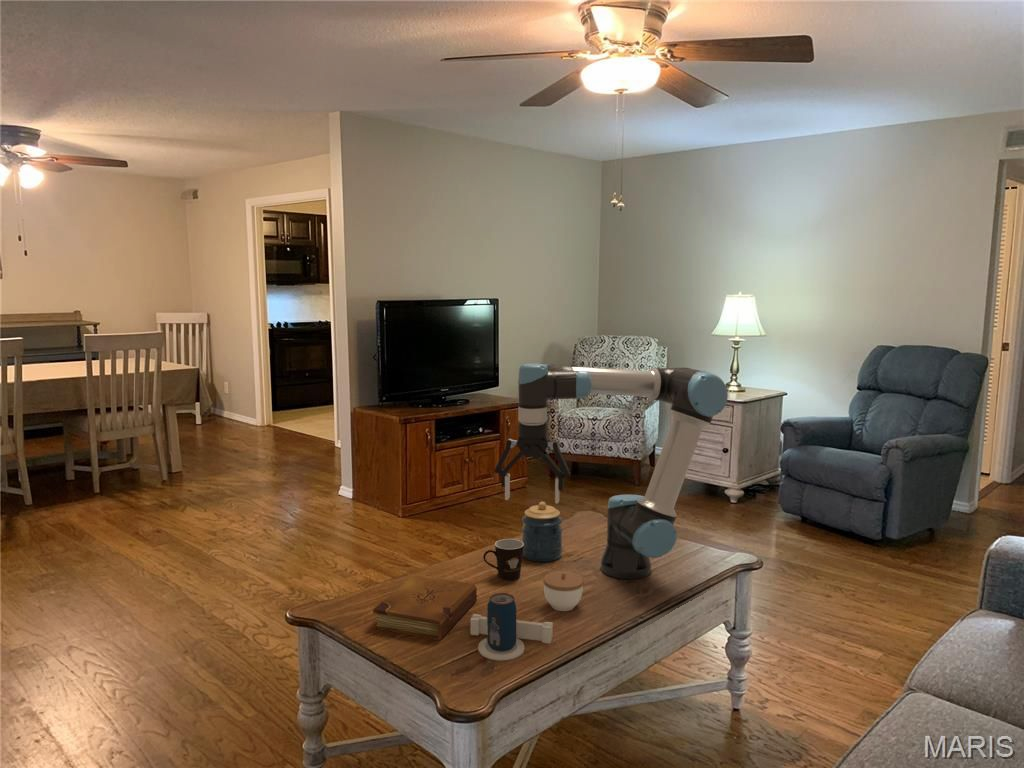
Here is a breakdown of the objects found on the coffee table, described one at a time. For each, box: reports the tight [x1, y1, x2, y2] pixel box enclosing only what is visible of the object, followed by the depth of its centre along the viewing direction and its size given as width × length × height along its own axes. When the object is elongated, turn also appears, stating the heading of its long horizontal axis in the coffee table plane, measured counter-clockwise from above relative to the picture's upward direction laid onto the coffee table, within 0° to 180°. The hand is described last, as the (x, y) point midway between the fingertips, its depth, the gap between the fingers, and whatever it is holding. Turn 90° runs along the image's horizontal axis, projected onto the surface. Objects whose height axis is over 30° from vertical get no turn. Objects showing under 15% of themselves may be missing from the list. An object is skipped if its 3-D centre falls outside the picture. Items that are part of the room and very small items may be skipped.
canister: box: [521, 501, 564, 563], centre depth 229 cm, size 13×13×18 cm
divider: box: [470, 613, 554, 645], centre depth 176 cm, size 20×3×4 cm, turn 78°
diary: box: [372, 574, 478, 641], centre depth 188 cm, size 23×19×6 cm
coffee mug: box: [482, 538, 524, 581], centre depth 213 cm, size 12×9×10 cm
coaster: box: [477, 637, 525, 662], centre depth 171 cm, size 11×11×1 cm
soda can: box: [486, 592, 518, 652], centre depth 170 cm, size 7×7×12 cm
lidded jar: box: [543, 570, 584, 612], centre depth 193 cm, size 11×11×9 cm
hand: (532, 500), depth 192 cm, fingers open, 13 cm apart
